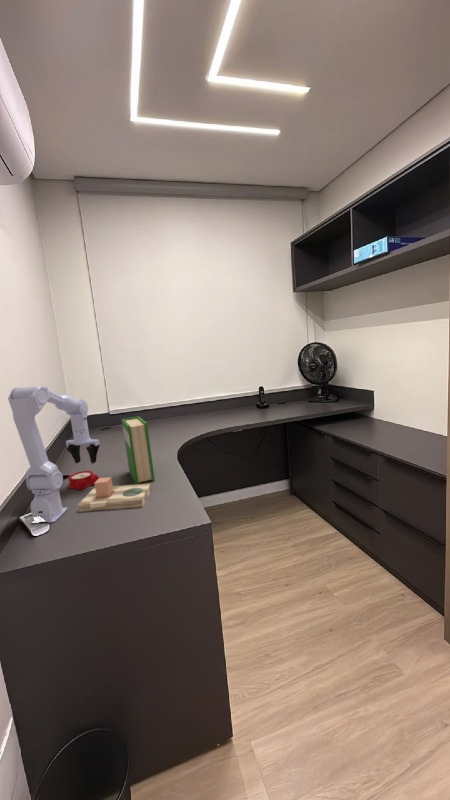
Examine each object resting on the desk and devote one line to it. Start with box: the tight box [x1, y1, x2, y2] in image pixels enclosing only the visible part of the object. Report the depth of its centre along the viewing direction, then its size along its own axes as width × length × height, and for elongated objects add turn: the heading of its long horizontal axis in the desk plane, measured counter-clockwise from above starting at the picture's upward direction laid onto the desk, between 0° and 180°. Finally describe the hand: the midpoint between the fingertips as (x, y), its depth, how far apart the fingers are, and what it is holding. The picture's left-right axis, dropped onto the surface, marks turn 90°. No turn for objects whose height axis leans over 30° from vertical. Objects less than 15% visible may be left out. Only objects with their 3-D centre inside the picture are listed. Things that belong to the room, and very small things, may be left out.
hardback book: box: [121, 416, 156, 485], centre depth 144 cm, size 18×7×24 cm, turn 24°
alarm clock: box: [65, 470, 100, 491], centre depth 142 cm, size 10×6×15 cm
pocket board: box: [77, 482, 153, 513], centre depth 124 cm, size 14×22×3 cm, turn 89°
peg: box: [94, 476, 114, 498], centre depth 124 cm, size 4×4×8 cm
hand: (85, 462), depth 139 cm, fingers open, 7 cm apart
